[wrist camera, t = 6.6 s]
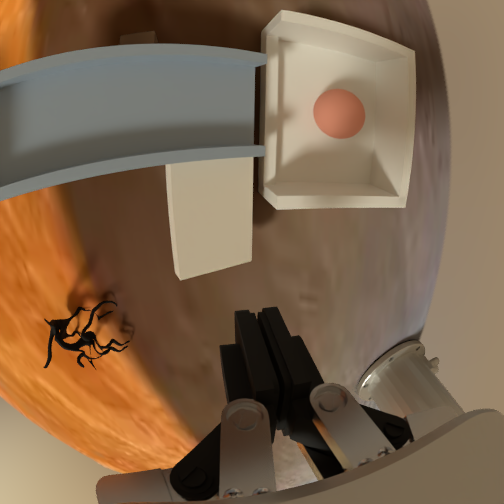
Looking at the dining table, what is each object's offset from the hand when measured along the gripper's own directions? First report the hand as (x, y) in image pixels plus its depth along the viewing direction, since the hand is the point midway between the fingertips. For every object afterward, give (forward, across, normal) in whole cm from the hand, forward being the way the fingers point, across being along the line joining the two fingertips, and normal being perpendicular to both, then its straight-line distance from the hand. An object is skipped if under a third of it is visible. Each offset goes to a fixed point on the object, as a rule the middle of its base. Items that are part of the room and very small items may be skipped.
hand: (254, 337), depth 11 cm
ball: (+8, -7, -10) cm, 15 cm away
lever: (+6, +7, -6) cm, 11 cm away
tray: (+11, -7, -10) cm, 16 cm away
